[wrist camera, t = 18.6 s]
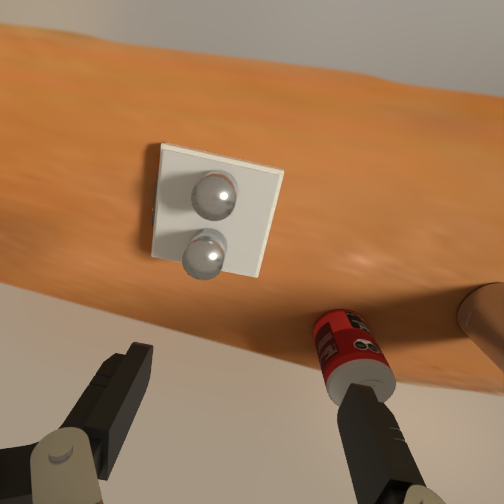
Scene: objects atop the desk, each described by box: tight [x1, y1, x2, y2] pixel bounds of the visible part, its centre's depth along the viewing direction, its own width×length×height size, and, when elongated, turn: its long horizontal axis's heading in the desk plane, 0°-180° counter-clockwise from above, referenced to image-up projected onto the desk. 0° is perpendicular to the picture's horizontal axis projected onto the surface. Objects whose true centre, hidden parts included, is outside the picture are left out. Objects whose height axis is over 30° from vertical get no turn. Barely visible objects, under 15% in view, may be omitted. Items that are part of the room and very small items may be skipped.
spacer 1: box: [191, 170, 238, 221], centre depth 32 cm, size 4×4×5 cm
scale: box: [151, 142, 284, 278], centre depth 37 cm, size 15×14×3 cm
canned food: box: [313, 309, 396, 406], centre depth 40 cm, size 8×8×11 cm
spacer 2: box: [182, 228, 227, 280], centre depth 35 cm, size 4×4×5 cm
